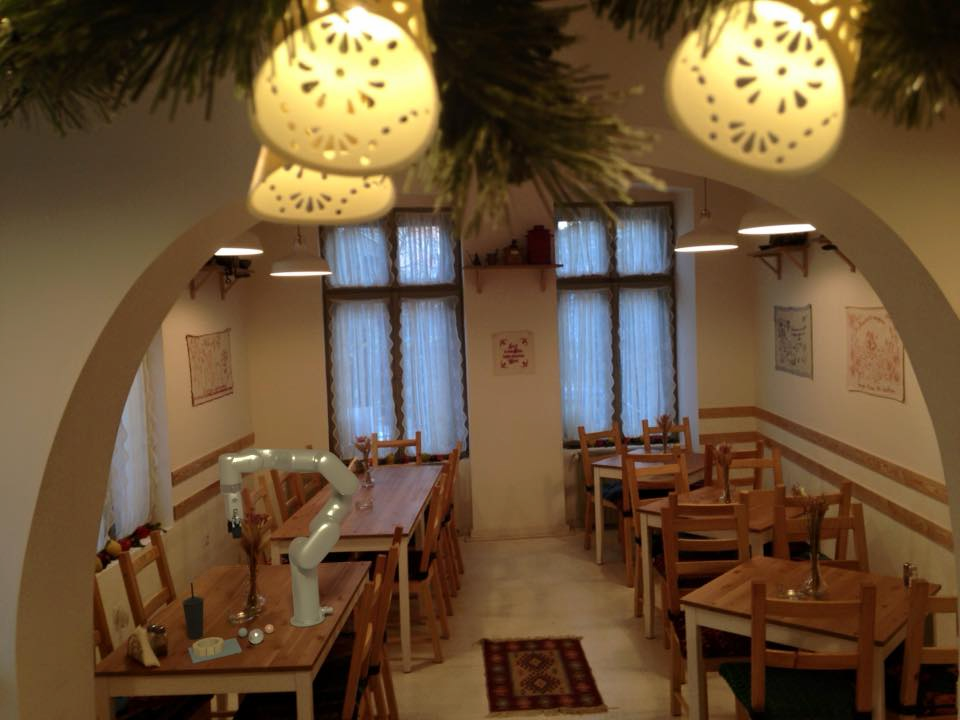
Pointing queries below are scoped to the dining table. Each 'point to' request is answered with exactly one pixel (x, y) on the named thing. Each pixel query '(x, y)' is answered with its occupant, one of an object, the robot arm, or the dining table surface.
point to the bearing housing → (213, 648)
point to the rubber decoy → (242, 632)
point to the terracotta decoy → (269, 628)
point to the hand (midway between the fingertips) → (235, 535)
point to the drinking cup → (194, 615)
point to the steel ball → (256, 636)
